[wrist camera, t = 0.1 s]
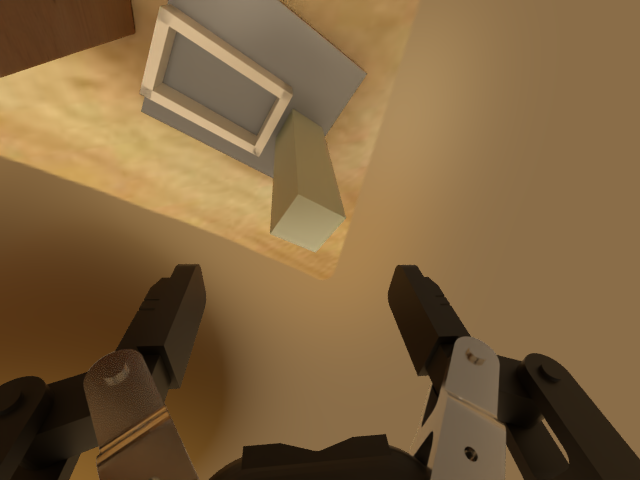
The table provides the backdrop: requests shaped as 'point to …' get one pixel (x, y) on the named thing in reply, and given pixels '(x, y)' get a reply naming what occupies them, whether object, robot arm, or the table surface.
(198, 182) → the table surface
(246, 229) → the table surface
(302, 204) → the sage pillar
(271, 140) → the base plate
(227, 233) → the table surface
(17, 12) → the wooden block
